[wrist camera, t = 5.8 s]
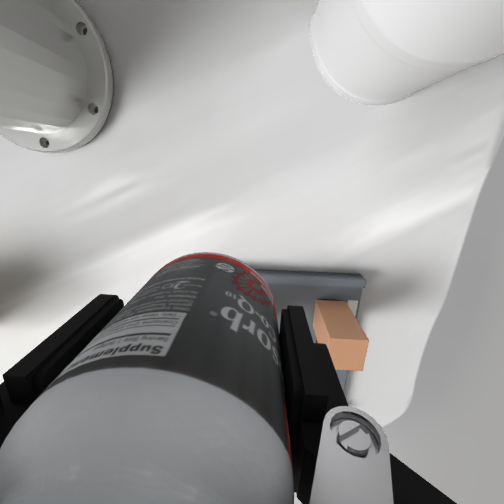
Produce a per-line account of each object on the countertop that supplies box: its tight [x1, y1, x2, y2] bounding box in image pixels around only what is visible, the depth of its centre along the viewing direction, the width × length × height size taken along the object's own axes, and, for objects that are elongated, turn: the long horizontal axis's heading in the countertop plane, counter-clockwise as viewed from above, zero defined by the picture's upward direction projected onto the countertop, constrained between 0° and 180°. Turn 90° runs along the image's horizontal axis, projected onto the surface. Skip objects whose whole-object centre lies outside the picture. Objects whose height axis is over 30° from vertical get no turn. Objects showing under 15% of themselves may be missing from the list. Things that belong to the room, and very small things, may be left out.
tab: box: [313, 300, 369, 371], centre depth 24 cm, size 3×3×6 cm
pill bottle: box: [0, 252, 294, 504], centre depth 7 cm, size 6×6×10 cm
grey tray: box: [254, 269, 366, 391], centre depth 29 cm, size 18×15×2 cm
